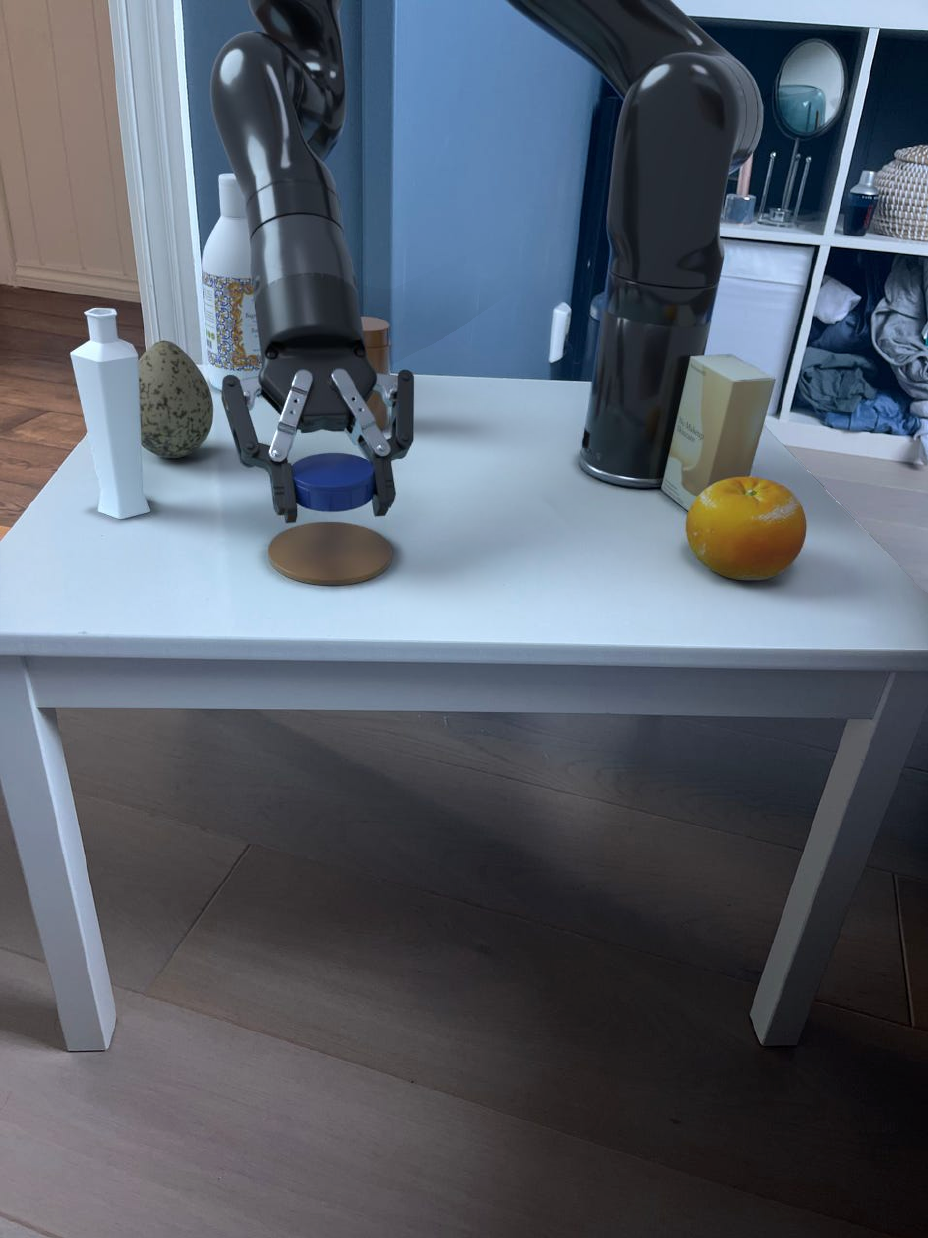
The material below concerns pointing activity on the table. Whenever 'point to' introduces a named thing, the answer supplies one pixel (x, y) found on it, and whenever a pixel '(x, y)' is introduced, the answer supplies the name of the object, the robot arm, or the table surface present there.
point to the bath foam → (230, 291)
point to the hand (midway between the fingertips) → (336, 515)
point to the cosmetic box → (716, 425)
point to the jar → (378, 363)
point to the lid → (333, 482)
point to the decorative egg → (173, 402)
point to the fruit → (746, 528)
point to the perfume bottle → (112, 414)
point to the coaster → (330, 553)
